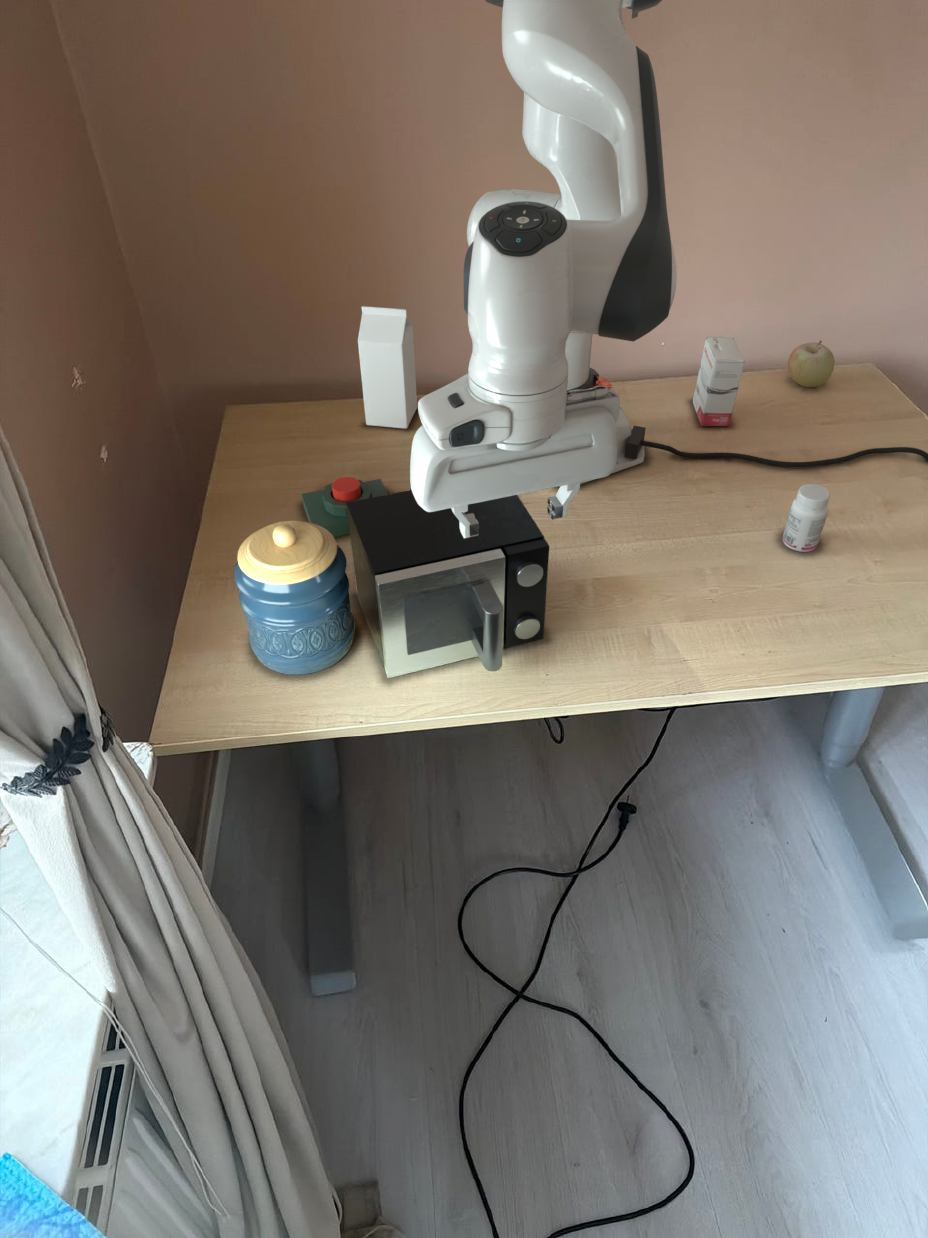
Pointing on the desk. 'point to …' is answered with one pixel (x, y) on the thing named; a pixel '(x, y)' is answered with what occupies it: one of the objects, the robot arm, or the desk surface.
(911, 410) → the desk surface
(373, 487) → the block
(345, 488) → the release button
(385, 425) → the milk carton
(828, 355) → the fruit
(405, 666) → the microwave door
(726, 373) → the ink box
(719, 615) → the desk surface
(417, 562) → the microwave
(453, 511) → the robot arm
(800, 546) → the pill bottle
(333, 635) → the canister
